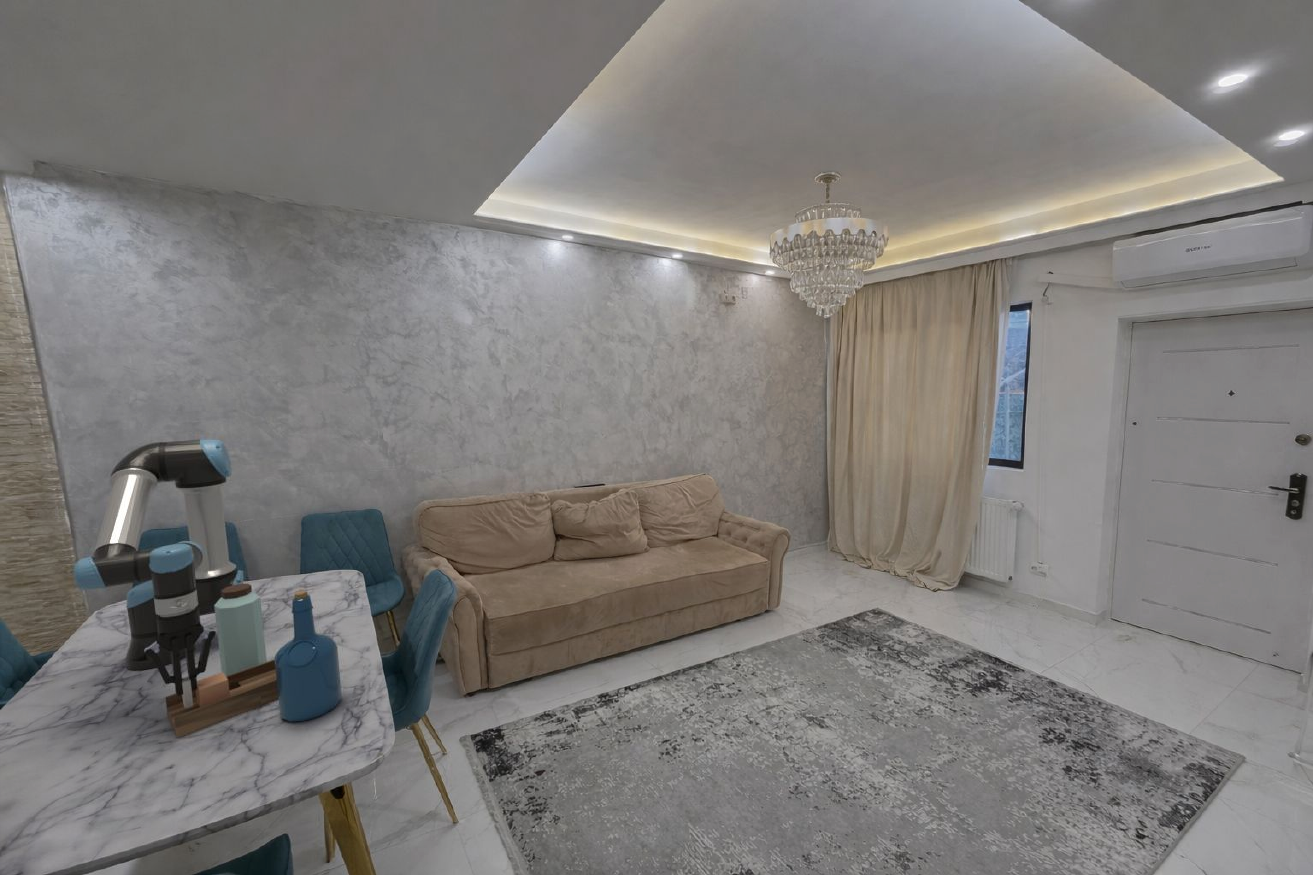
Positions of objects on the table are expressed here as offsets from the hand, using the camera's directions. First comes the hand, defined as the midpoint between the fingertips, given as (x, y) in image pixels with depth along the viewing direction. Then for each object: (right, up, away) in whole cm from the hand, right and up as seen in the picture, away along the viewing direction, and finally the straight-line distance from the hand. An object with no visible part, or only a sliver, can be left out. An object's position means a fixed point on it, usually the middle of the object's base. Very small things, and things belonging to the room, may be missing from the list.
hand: (188, 704), depth 127 cm
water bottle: (-3, -2, +21) cm, 21 cm away
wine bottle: (+27, -3, +5) cm, 27 cm away
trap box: (+8, -3, +9) cm, 12 cm away
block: (+3, -1, +4) cm, 5 cm away
